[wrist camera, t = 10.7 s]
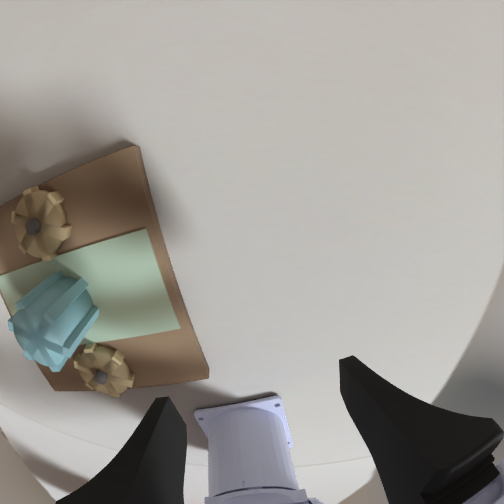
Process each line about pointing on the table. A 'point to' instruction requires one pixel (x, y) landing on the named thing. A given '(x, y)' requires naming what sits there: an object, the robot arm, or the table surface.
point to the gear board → (104, 275)
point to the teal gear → (53, 319)
